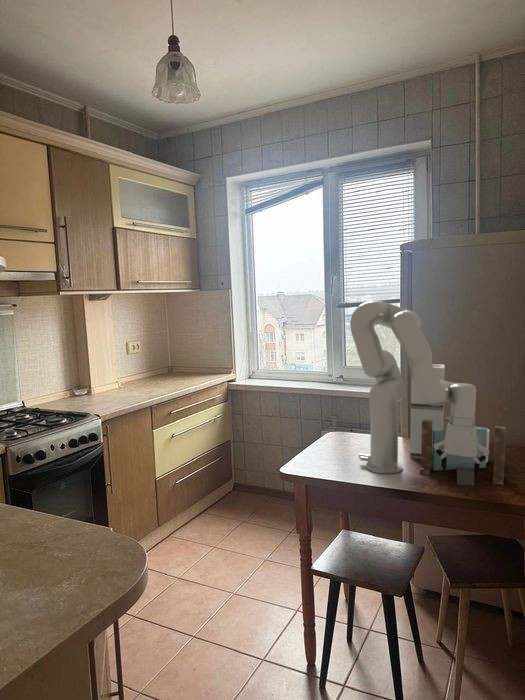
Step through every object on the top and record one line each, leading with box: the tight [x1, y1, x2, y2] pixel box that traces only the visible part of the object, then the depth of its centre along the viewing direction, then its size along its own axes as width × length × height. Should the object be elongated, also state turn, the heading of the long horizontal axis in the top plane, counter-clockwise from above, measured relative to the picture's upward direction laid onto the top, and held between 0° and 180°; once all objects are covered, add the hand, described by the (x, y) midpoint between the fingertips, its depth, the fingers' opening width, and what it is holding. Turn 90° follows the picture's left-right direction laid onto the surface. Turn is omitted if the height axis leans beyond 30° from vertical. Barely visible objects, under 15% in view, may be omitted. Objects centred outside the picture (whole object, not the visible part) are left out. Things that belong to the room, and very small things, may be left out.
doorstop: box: [455, 467, 475, 487], centre depth 168 cm, size 5×14×4 cm, turn 160°
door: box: [432, 427, 488, 471], centre depth 175 cm, size 19×1×14 cm, turn 97°
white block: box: [409, 363, 446, 460], centre depth 191 cm, size 11×11×35 cm
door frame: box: [419, 419, 506, 486], centre depth 169 cm, size 26×8×18 cm, turn 62°
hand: (459, 471), depth 165 cm, fingers open, 9 cm apart
